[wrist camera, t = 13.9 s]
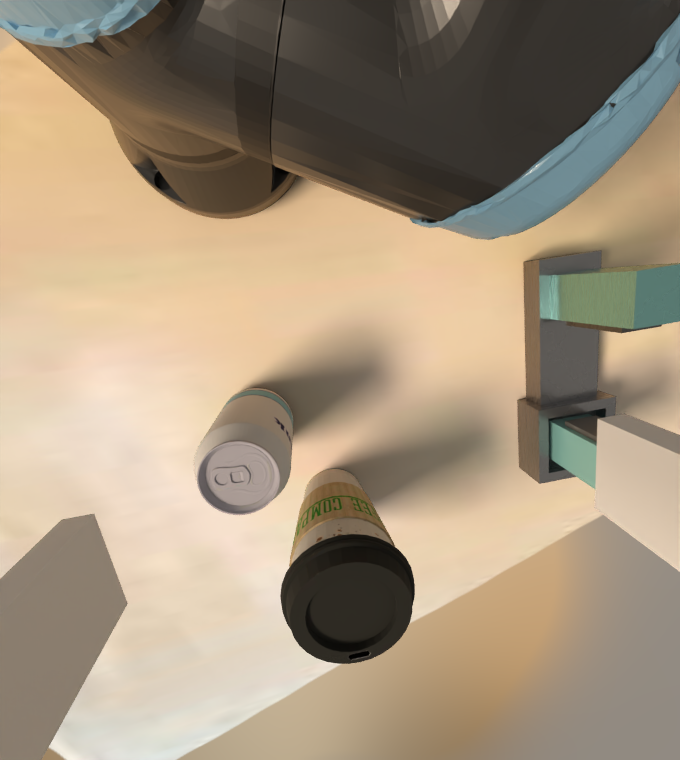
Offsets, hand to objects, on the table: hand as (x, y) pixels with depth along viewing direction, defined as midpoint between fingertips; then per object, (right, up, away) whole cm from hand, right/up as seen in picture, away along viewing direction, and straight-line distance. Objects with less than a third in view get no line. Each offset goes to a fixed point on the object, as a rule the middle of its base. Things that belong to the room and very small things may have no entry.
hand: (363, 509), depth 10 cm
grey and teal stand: (+22, +5, +29) cm, 36 cm away
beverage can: (-9, 0, +27) cm, 28 cm away
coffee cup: (-1, -9, +30) cm, 31 cm away
